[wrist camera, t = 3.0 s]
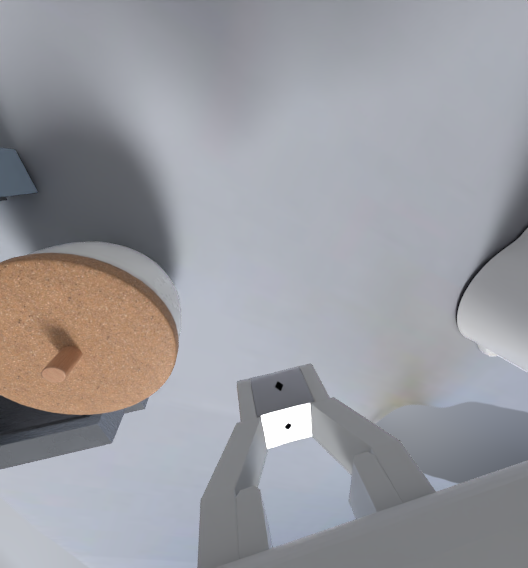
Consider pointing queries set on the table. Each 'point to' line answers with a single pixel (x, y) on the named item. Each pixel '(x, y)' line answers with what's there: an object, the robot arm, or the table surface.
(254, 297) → the table surface
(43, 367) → the lidded jar
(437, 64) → the table surface
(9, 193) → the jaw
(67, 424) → the vise body
